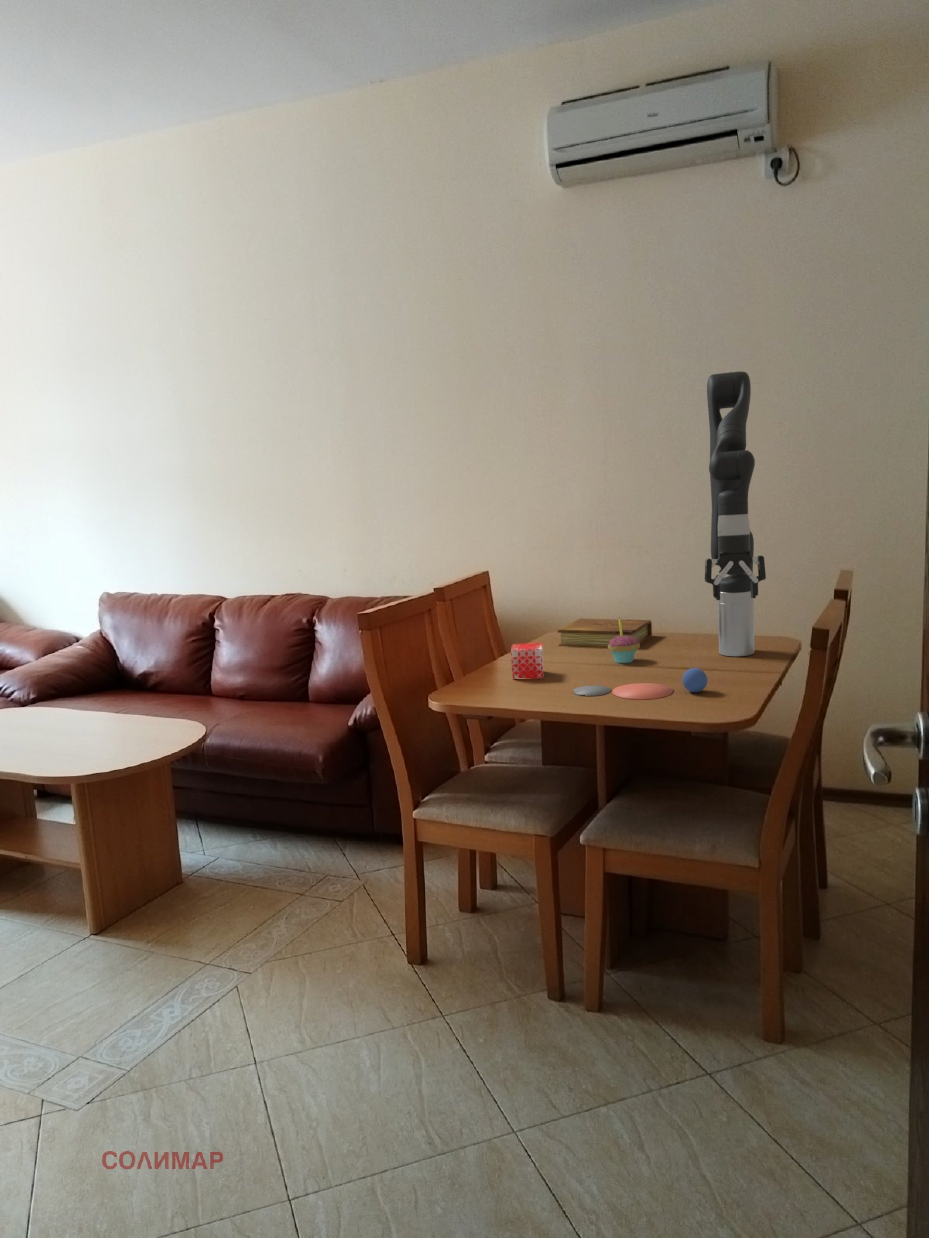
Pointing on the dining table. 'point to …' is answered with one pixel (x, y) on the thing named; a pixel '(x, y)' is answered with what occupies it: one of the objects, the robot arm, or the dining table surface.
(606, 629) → the diary
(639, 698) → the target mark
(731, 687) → the dining table surface
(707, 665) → the dining table surface
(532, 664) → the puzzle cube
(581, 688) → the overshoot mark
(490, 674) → the dining table surface
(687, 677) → the ball
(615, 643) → the cupcake
